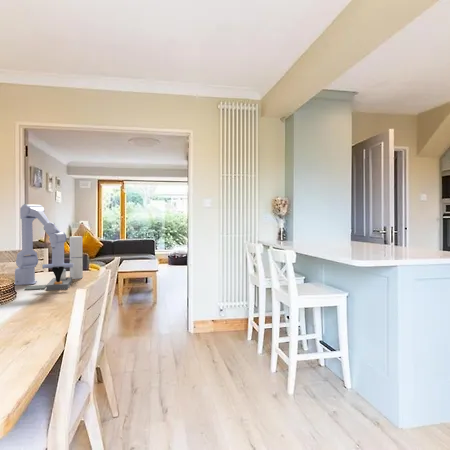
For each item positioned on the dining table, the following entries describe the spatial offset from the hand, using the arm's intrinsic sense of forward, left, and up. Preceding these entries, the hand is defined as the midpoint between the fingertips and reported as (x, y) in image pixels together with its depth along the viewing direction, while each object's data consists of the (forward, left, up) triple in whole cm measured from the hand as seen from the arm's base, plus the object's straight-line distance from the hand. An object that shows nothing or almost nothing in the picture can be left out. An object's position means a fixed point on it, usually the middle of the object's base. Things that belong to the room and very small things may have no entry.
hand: (58, 281), depth 188 cm
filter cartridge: (0, +12, -3) cm, 12 cm away
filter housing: (0, +7, -3) cm, 8 cm away
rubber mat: (-11, +3, -3) cm, 12 cm away
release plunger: (0, 0, -3) cm, 3 cm away
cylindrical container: (+6, +30, -3) cm, 31 cm away
